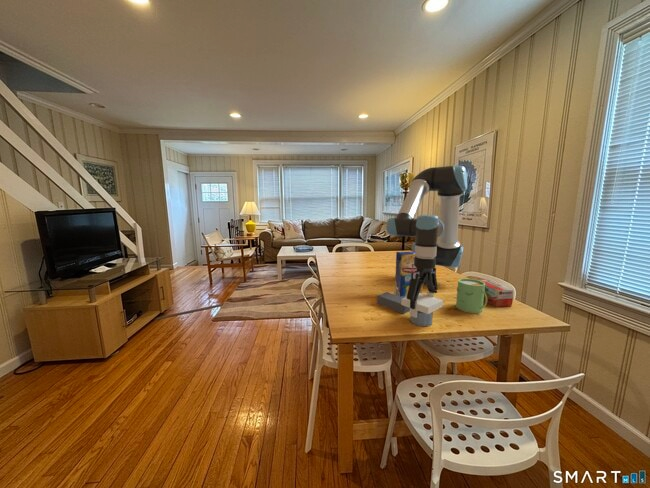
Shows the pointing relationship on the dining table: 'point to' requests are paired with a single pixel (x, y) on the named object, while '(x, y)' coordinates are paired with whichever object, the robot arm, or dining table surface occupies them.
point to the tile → (425, 303)
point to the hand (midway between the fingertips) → (421, 312)
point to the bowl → (422, 319)
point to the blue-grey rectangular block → (392, 302)
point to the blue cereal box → (404, 272)
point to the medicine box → (497, 294)
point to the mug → (470, 295)
